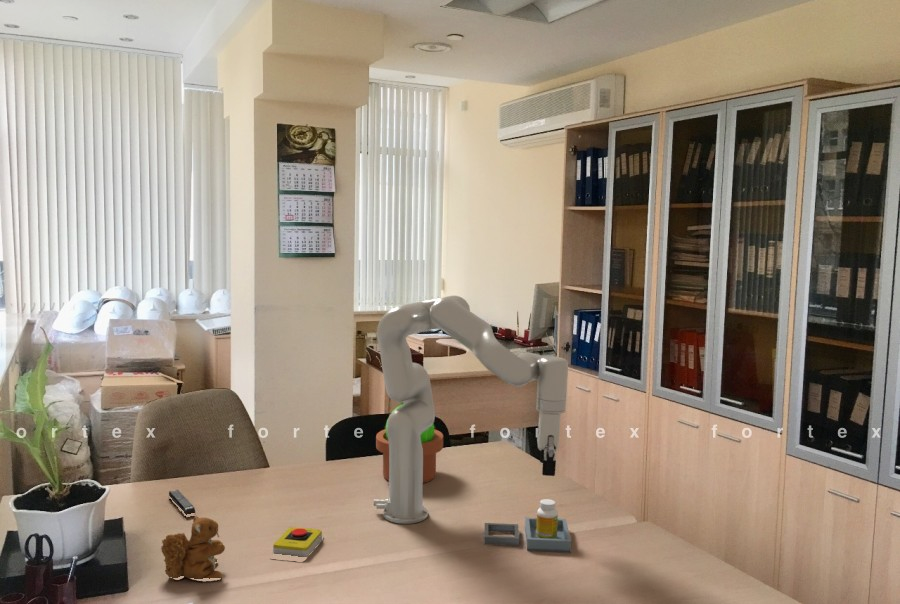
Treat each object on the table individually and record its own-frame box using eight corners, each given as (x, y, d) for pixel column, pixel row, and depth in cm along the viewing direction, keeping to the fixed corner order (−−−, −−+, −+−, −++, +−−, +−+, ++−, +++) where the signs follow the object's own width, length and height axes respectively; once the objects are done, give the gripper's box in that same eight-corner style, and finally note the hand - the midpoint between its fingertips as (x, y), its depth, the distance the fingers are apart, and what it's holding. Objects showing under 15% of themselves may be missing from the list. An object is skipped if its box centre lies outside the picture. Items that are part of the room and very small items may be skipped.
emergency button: (325, 522, 187) (303, 547, 173) (325, 539, 188) (303, 564, 173) (292, 519, 189) (267, 543, 174) (292, 535, 189) (267, 561, 175)
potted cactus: (441, 488, 225) (443, 410, 222) (372, 486, 225) (372, 408, 222) (443, 465, 247) (444, 394, 244) (379, 464, 247) (380, 392, 244)
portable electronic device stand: (195, 517, 199) (195, 507, 199) (186, 520, 198) (186, 509, 198) (177, 497, 214) (177, 488, 213) (168, 499, 212) (168, 490, 212)
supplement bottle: (556, 542, 185) (557, 506, 184) (535, 540, 186) (536, 504, 185) (557, 534, 190) (558, 499, 190) (537, 532, 192) (538, 497, 191)
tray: (527, 550, 182) (527, 539, 181) (525, 527, 196) (525, 517, 195) (570, 552, 181) (571, 541, 181) (565, 529, 195) (565, 519, 195)
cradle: (483, 544, 185) (484, 536, 185) (484, 529, 194) (484, 522, 194) (518, 545, 184) (519, 538, 184) (517, 531, 193) (518, 524, 193)
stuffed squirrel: (225, 581, 164) (224, 525, 162) (158, 589, 159) (157, 532, 158) (225, 561, 173) (224, 509, 172) (162, 568, 169) (161, 515, 168)
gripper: (534, 395, 194) (531, 457, 195) (538, 412, 176) (534, 479, 178) (562, 397, 193) (558, 459, 195) (568, 414, 176) (564, 481, 178)
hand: (547, 468), depth 187 cm, fingers open, 9 cm apart
